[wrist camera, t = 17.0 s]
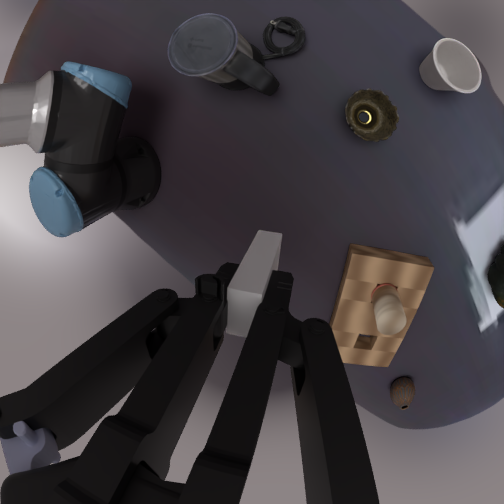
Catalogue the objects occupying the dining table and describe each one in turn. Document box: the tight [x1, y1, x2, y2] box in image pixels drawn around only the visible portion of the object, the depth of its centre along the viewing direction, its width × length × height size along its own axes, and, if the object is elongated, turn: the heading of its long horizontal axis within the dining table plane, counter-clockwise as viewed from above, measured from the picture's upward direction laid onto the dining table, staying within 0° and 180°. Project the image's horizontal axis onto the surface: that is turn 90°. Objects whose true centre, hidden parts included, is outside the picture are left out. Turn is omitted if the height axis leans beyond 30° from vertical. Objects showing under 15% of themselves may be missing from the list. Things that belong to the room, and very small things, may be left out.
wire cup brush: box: [345, 88, 399, 142], centre depth 33 cm, size 8×7×8 cm
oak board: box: [329, 244, 434, 367], centre depth 49 cm, size 16×26×4 cm, turn 176°
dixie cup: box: [419, 38, 481, 93], centre depth 25 cm, size 8×8×10 cm
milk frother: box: [168, 13, 305, 96], centre depth 29 cm, size 14×16×15 cm
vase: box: [390, 377, 415, 410], centre depth 54 cm, size 7×7×9 cm
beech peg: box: [371, 283, 406, 335], centre depth 42 cm, size 5×5×12 cm
